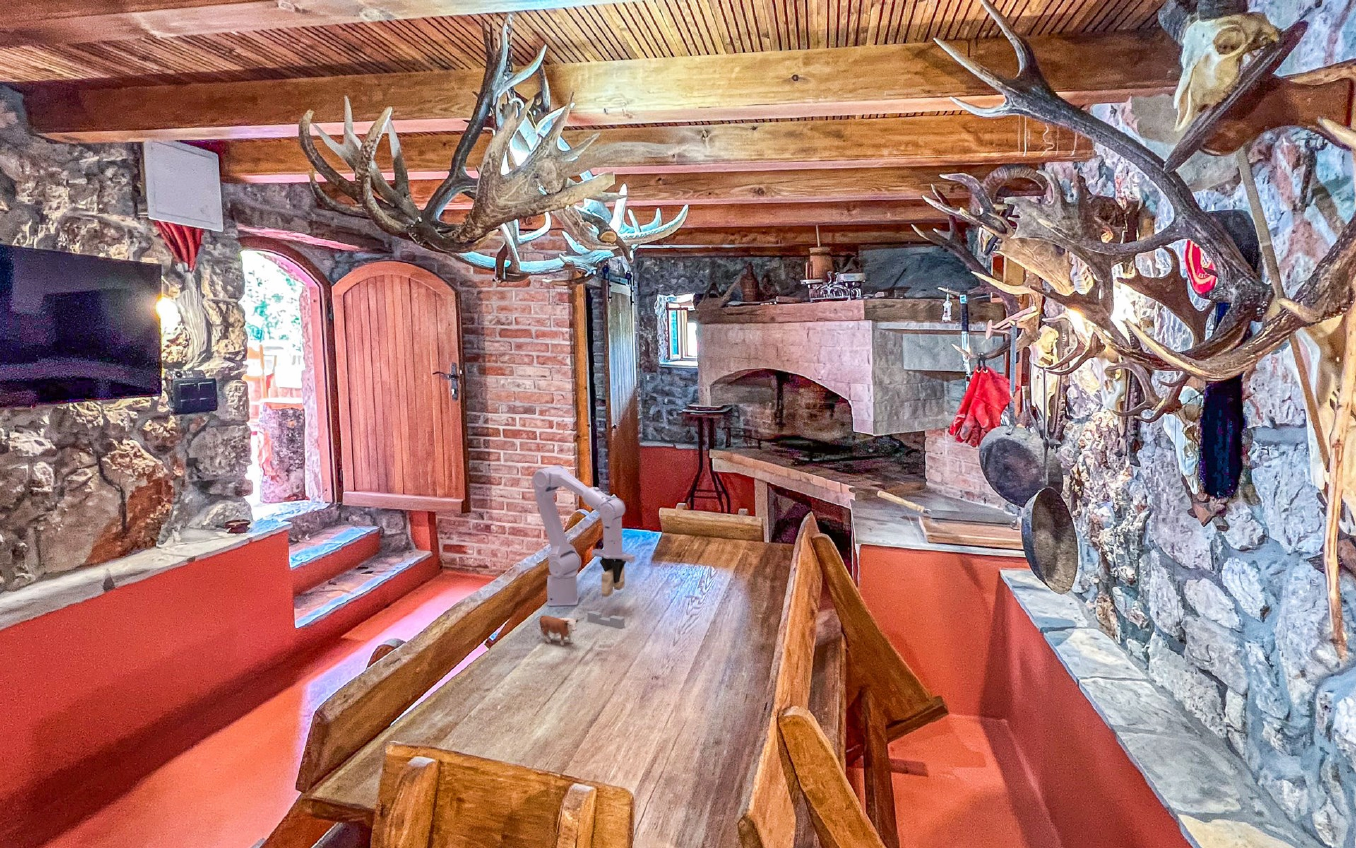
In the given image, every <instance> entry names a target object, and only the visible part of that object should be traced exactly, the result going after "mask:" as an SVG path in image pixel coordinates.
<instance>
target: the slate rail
mask: <svg viewBox="0 0 1356 848" xmlns="http://www.w3.org/2000/svg"><path fill="white" fill-rule="evenodd" d="M586 620H587V622H589V623H594V624H599V625H604V626H608V627H613V628H617V629H623V628H625V625H626V623H625V617H623V616H618V615H614V614H613V615H611V616H610V617H605V616H604V617H603V613H602V612H599V611H593V610H589V611H588V612H587V619H586Z"/></svg>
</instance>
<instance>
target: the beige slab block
mask: <svg viewBox="0 0 1356 848" xmlns="http://www.w3.org/2000/svg"><path fill="white" fill-rule="evenodd" d="M625 579H626V577H625V566H624V567H623V569H622V572H621V576H620V581H619V582H618V583H614V579H613V568H612V569H610V570H608V571H606V572H605V571H604V572H603V573H601V596H602V597H605V598H608V597H610V596H611V595H613V594H614V590H617V591H620V590H621V589H624V588H625V587H626V586H625V585H626V584H625V583H626V582H625Z"/></svg>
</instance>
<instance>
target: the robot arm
mask: <svg viewBox="0 0 1356 848" xmlns="http://www.w3.org/2000/svg"><path fill="white" fill-rule="evenodd" d="M531 483H532V484H533V487H534V498H535V501H536V505H537V507H538V510H539V514H540V518H541V521H542V523H543V524H542V525H543V527H544V529H545V532H546V535H547V536H546V537H547V539H548V542H549V543H548V544H549V546H550V551H549V552H548V554H547V560H548V571H549V572H550V574H548V575H547V583H546V591H547V592H546V597H547V606H548V607H549V606H550V607H557V606H560V607H561V606H563V607H564V606H577V605H578V604H579V599H580V595H578V582H577V581H578V580H577V578H578V577H577V575H578V572H579V571H578V570H579V569H580V567H581V566H582V559H581V556H580V555H579V554H578V552H577V551H576V548H575V546H574V545H572V544H570V543H569V541H568V539H567V536H566V533H565V531H564V527H563V523H562V520H561V516H560V513H559V512H558V508H557V505H556V501H555V499H554V496H555V493H556V492H557V490H558V489H559V488H560V487H564V488H566V489H567V490H570V491H571V492H573V493H574V494H576V495H578V496H579V497H581V498H582V501H583V503H584V504H585V505H586V506H589V507H590V508H592V509H593V510H595V511H596V512H598V515H599V518H601V519H600V520H601V524H602V530H603V533H602V535H603V538H602V539H603V549H601V548H600V549H599V548H594V549H592V550H591V557H593V558H595V557H597V558H601V559H600V560H599V564H600V566H601V567H602V569H603V571H604V572H606V571H608V570H610V569H612V568H613V579H614V583H618V582H619V581H620V576H621V572H622V569H623V567H624V568H625V565H626V563H629V564H632V563H635V561H636V558H635V556H636V555H634V554H630V553H627V552H625V551H623V526H622V525H623V521H622V520H623V518H622V517H623V515H625V513H626V505H625V503H624V501H623V500H622V499H620V498H618V497H614V498H612V496H611V495H608V494H605V492H602V491H601V489H600V488H599V487H597V486H596V487H595V486H592V487H588V486H587V485H585V484H584V483H583V482H581V481H580V480H579V479H577V478H576V477H574V475H573V474H571V473H570V472H569V469H568V468H565V467H564V466H562V465H561V464H555V465H553V466H549V467H545V468H538V469H537V470H536V471H535V472H534V474H533V475H532V478H531Z"/></svg>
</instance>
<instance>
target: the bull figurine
mask: <svg viewBox="0 0 1356 848" xmlns="http://www.w3.org/2000/svg"><path fill="white" fill-rule="evenodd" d="M578 622H579V618H577V619H574V618H570V617H564V618H563V617H562V618H560V617H555V616H549V615H545V614H544V615H541V616H540V617H539V626H540V634H541V636H542V637H543V638H545V641H546V642H547V643H548V644H551V643H552V641H551V638H552V637H551V636H550V633H552V634H554V636H557V635H560V643H559V644H560V646H561V647H564V646H565V643H564V639H565V637H566V638H568V643H569V644H574V642H573V640H572V638H571V637H572V636H571V635H572V634H573V632H577V630H578V629H577V628H576V623H578Z"/></svg>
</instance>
